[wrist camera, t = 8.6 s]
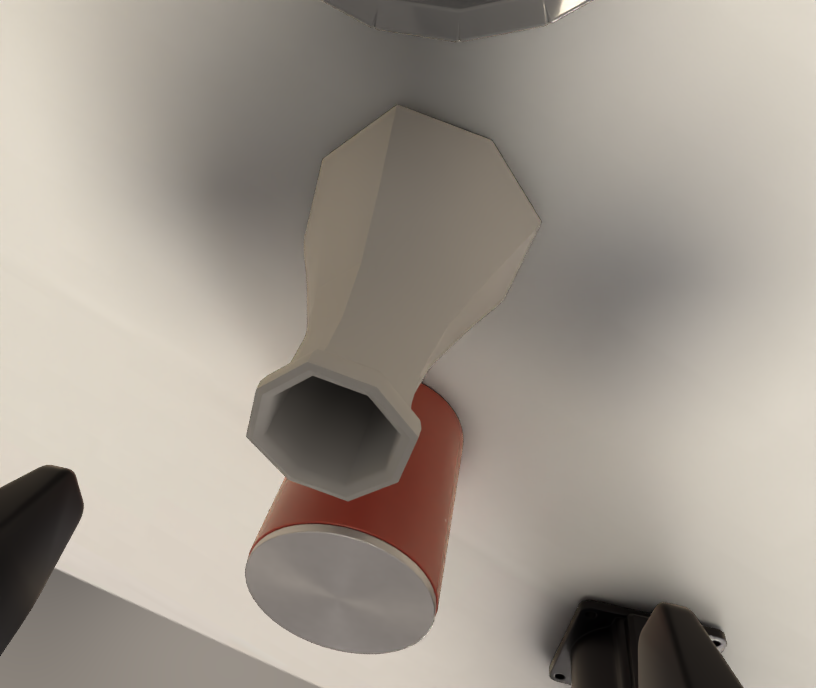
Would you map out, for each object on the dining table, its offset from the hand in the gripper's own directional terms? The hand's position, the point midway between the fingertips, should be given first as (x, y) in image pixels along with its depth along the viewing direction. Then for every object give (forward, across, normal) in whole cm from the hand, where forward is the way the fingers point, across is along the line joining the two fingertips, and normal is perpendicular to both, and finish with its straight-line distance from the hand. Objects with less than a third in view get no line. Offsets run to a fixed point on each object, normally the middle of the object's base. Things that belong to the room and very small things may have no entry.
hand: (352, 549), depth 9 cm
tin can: (+12, +1, +9) cm, 15 cm away
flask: (+12, +1, 0) cm, 13 cm away
